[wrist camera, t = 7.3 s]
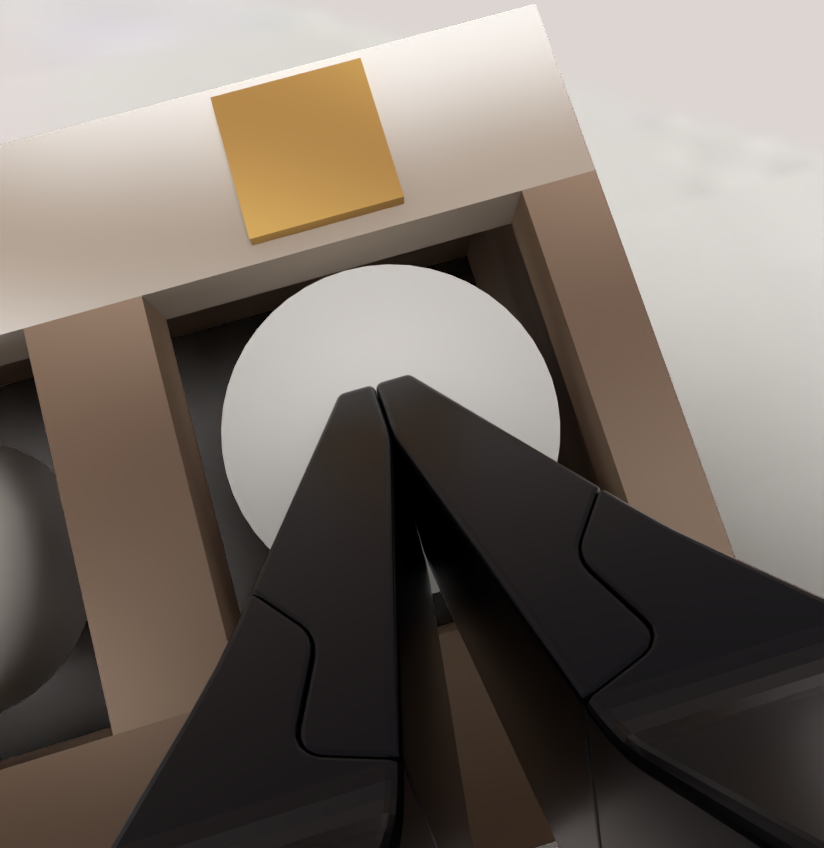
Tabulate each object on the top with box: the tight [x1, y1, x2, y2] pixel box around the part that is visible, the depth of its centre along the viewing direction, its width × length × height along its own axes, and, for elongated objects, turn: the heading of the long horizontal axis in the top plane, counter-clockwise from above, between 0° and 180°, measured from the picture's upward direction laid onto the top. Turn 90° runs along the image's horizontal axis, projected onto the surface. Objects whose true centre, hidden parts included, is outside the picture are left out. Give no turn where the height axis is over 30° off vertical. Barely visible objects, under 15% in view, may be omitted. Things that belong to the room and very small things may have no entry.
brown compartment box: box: [0, 4, 735, 848], centre depth 12 cm, size 10×20×7 cm, turn 107°
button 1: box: [221, 264, 560, 593], centre depth 11 cm, size 4×4×4 cm
